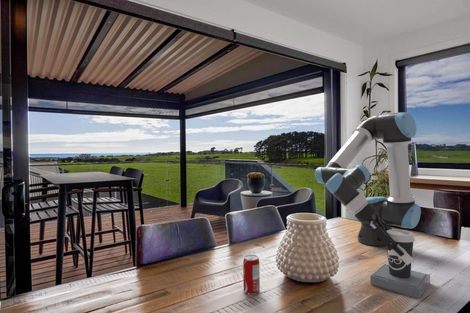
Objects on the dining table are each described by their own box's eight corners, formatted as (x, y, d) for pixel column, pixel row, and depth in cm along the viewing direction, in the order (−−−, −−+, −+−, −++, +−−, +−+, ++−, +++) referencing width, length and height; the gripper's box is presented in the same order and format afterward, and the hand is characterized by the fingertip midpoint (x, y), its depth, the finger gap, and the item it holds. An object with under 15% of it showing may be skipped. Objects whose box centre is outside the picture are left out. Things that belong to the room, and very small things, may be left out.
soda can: (243, 287, 103) (243, 253, 103) (259, 287, 103) (258, 253, 102) (243, 295, 97) (243, 259, 97) (260, 295, 97) (259, 259, 97)
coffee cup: (420, 281, 98) (419, 236, 98) (389, 279, 100) (388, 235, 100) (409, 269, 108) (408, 229, 107) (381, 268, 110) (380, 228, 109)
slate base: (384, 271, 115) (384, 263, 115) (430, 283, 104) (430, 274, 104) (370, 284, 104) (370, 275, 104) (419, 298, 94) (419, 288, 93)
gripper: (357, 209, 121) (401, 253, 114) (349, 221, 101) (401, 275, 94) (371, 197, 118) (417, 241, 111) (365, 207, 99) (421, 261, 91)
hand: (410, 257), depth 102 cm, fingers open, 10 cm apart
